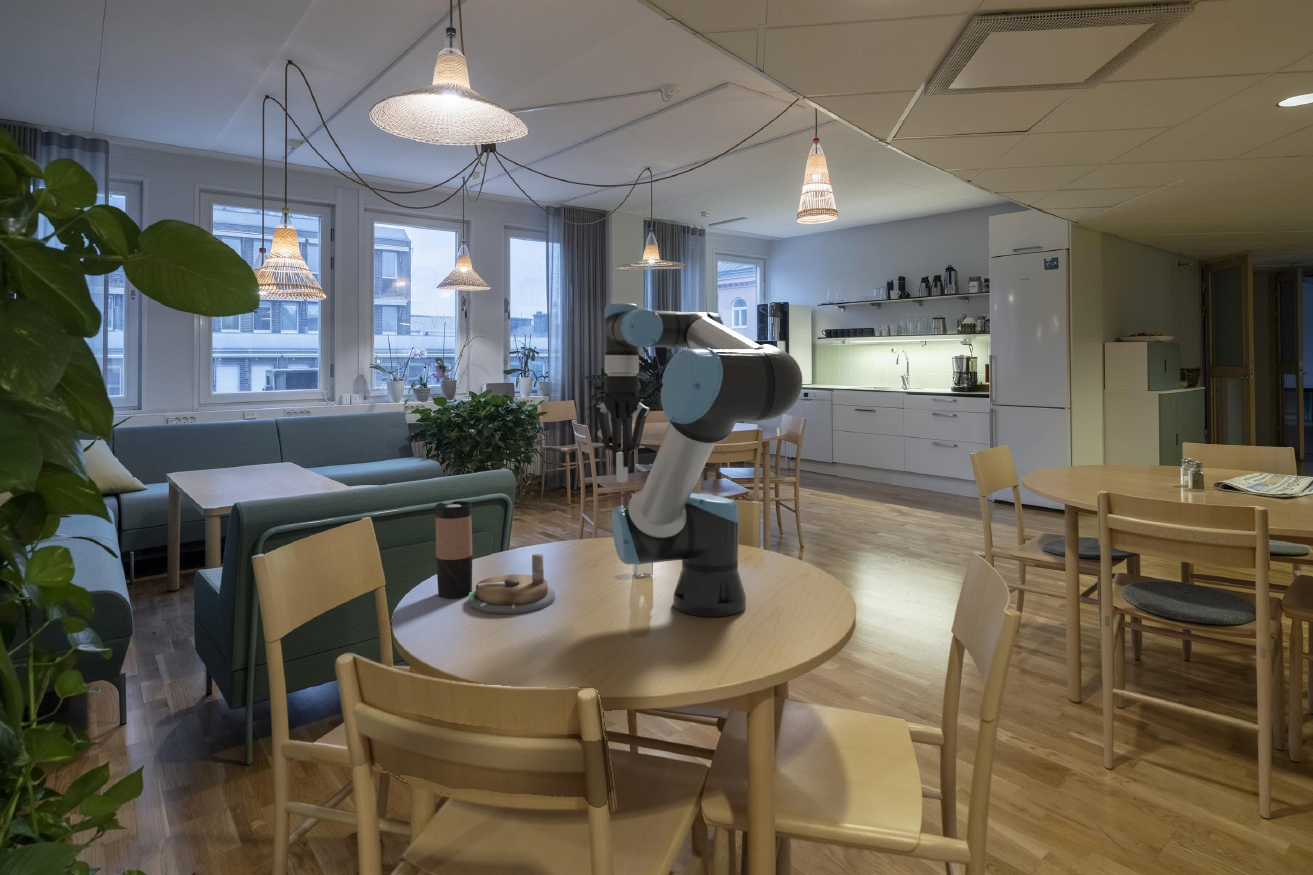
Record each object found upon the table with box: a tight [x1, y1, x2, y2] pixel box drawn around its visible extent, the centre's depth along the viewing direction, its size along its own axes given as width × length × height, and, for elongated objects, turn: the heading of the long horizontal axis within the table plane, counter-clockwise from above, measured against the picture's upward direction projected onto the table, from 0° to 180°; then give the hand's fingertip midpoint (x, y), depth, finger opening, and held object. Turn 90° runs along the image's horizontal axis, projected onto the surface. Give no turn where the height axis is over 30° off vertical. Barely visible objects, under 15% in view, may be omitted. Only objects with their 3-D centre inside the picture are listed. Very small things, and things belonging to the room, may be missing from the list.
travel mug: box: [434, 500, 473, 600], centre depth 160 cm, size 8×8×20 cm
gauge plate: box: [468, 586, 556, 615], centre depth 157 cm, size 18×18×2 cm
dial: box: [475, 553, 549, 605], centre depth 156 cm, size 15×15×8 cm
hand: (621, 481), depth 163 cm, fingers closed
